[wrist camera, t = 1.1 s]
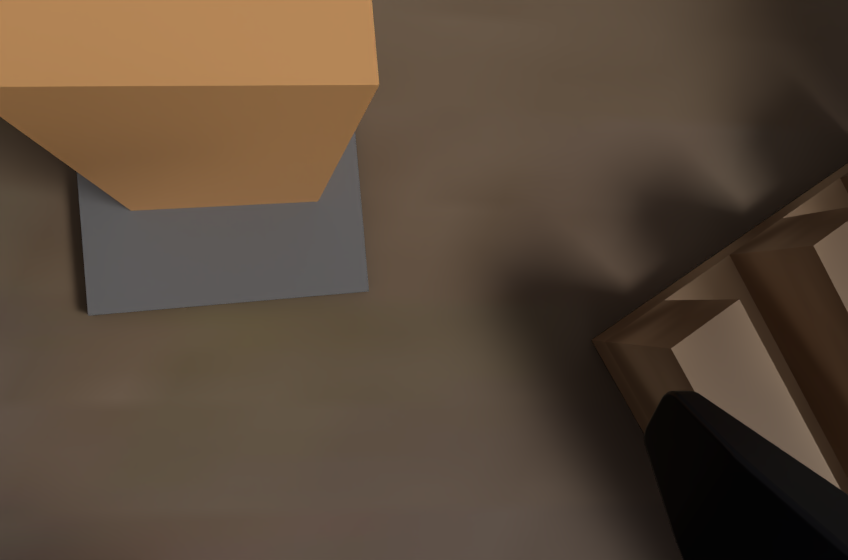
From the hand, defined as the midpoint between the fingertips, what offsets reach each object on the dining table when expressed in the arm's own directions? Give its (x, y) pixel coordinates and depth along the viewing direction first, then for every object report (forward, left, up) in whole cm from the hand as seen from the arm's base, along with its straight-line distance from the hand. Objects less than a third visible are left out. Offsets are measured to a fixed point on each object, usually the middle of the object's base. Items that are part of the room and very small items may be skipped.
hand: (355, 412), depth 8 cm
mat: (+3, +6, -14) cm, 16 cm away
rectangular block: (+3, +6, -14) cm, 15 cm away
